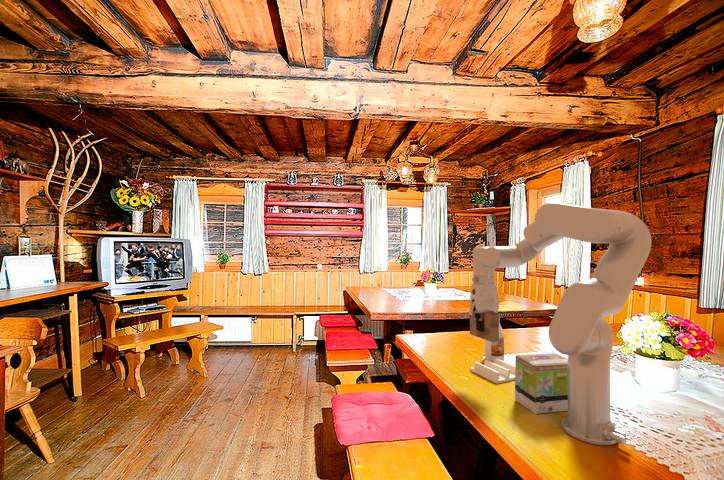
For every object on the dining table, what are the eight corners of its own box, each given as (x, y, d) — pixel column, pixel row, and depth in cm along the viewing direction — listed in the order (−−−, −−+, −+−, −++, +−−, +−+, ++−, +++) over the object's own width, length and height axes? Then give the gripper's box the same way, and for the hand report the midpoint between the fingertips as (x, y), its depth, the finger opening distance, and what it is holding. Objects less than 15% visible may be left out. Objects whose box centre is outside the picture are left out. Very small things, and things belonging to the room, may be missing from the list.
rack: (524, 377, 125) (524, 368, 125) (496, 383, 120) (496, 374, 120) (496, 365, 138) (496, 356, 138) (470, 370, 133) (470, 361, 133)
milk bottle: (483, 361, 143) (483, 315, 143) (486, 356, 150) (486, 311, 150) (503, 364, 139) (502, 316, 139) (504, 358, 146) (504, 313, 146)
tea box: (536, 415, 98) (535, 365, 98) (514, 400, 107) (513, 354, 108) (579, 410, 101) (579, 362, 101) (554, 395, 110) (553, 351, 111)
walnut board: (498, 341, 116) (498, 312, 117) (492, 342, 115) (492, 313, 115) (475, 333, 126) (475, 307, 127) (469, 334, 125) (469, 307, 125)
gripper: (474, 282, 114) (474, 335, 114) (508, 280, 121) (508, 330, 121) (459, 280, 121) (459, 330, 121) (492, 278, 128) (492, 325, 128)
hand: (483, 330), depth 121 cm, fingers closed on walnut board, 3 cm apart
